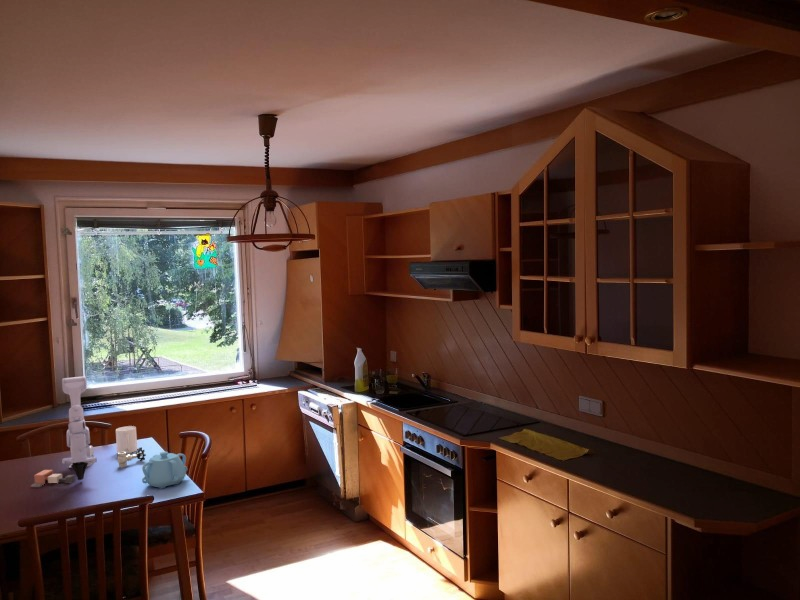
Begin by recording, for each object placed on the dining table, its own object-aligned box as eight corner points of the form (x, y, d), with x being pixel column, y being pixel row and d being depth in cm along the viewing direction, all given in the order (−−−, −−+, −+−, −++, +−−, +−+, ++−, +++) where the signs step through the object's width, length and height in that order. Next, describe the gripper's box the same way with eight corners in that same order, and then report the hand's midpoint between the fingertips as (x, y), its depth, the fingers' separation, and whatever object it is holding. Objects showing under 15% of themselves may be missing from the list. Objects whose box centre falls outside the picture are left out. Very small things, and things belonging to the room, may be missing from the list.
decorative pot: (176, 490, 272) (174, 458, 271) (138, 490, 273) (136, 458, 272) (191, 477, 288) (190, 446, 287) (156, 477, 289) (154, 446, 288)
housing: (57, 477, 295) (56, 467, 295) (39, 487, 282) (39, 477, 282) (48, 477, 295) (48, 467, 295) (30, 487, 283) (30, 477, 282)
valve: (122, 469, 304) (146, 461, 313) (121, 454, 303) (145, 448, 313) (114, 466, 308) (138, 459, 317) (113, 452, 307) (137, 446, 317)
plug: (75, 480, 290) (75, 473, 289) (70, 483, 286) (69, 476, 285) (53, 480, 290) (53, 473, 290) (48, 483, 287) (47, 476, 286)
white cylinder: (133, 447, 338) (131, 425, 338) (142, 452, 330) (140, 429, 329) (114, 452, 332) (112, 429, 331) (123, 456, 323) (121, 433, 322)
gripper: (57, 451, 283) (59, 482, 284) (89, 450, 282) (91, 482, 283) (66, 446, 290) (68, 477, 291) (98, 446, 289) (100, 476, 290)
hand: (80, 479), depth 287 cm, fingers closed
